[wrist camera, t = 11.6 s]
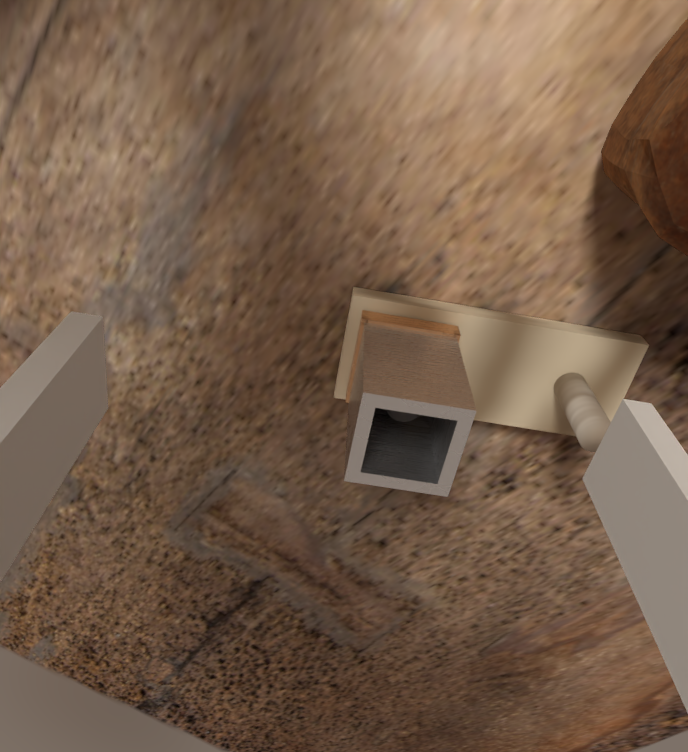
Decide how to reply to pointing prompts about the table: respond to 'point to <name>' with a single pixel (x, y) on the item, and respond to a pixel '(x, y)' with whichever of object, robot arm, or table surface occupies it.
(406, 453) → the sleeve
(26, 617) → the table surface
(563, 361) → the pin board
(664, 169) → the bread
